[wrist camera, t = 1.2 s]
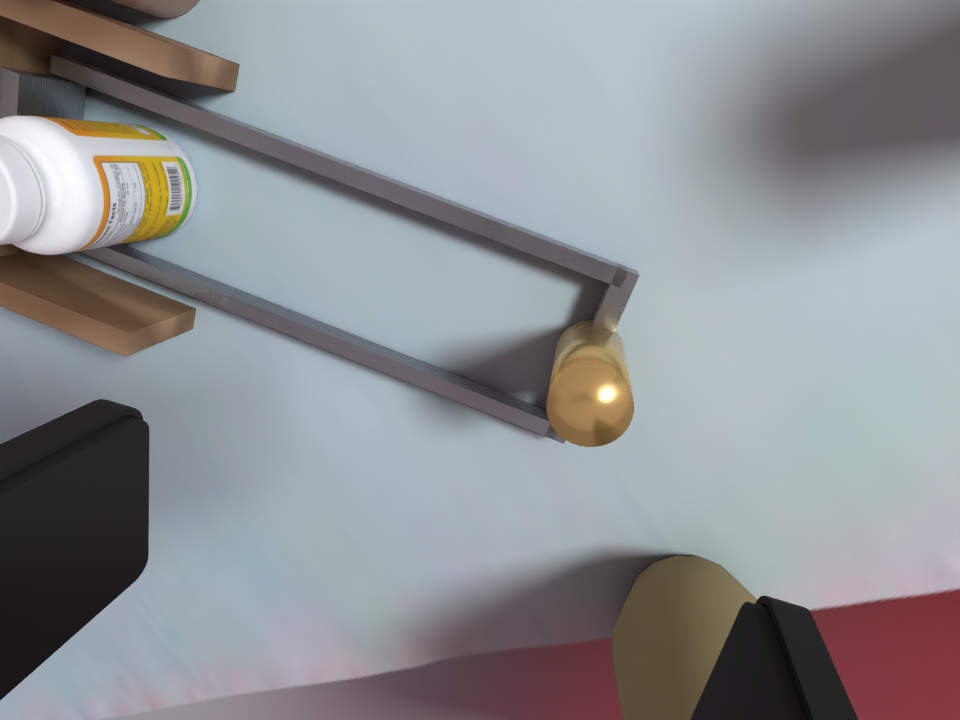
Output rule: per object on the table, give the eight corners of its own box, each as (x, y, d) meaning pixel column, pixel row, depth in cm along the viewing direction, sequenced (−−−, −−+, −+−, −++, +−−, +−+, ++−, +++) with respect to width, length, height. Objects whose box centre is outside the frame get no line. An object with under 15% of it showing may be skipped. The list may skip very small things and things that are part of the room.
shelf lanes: (192, 329, 32) (125, 356, 28) (24, 262, 33) (-70, 278, 28) (271, -116, 25) (199, -180, 21) (54, -192, 26) (-64, -271, 21)
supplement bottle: (83, 169, 31) (-130, 171, 22) (149, 101, 29) (-52, 72, 20) (153, 257, 32) (-24, 294, 22) (221, 195, 30) (60, 209, 21)
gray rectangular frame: (585, 441, 30) (584, 517, 24) (57, 233, 32) (-81, 251, 25) (660, 279, 27) (682, 315, 21) (72, 58, 29) (-81, 27, 22)
